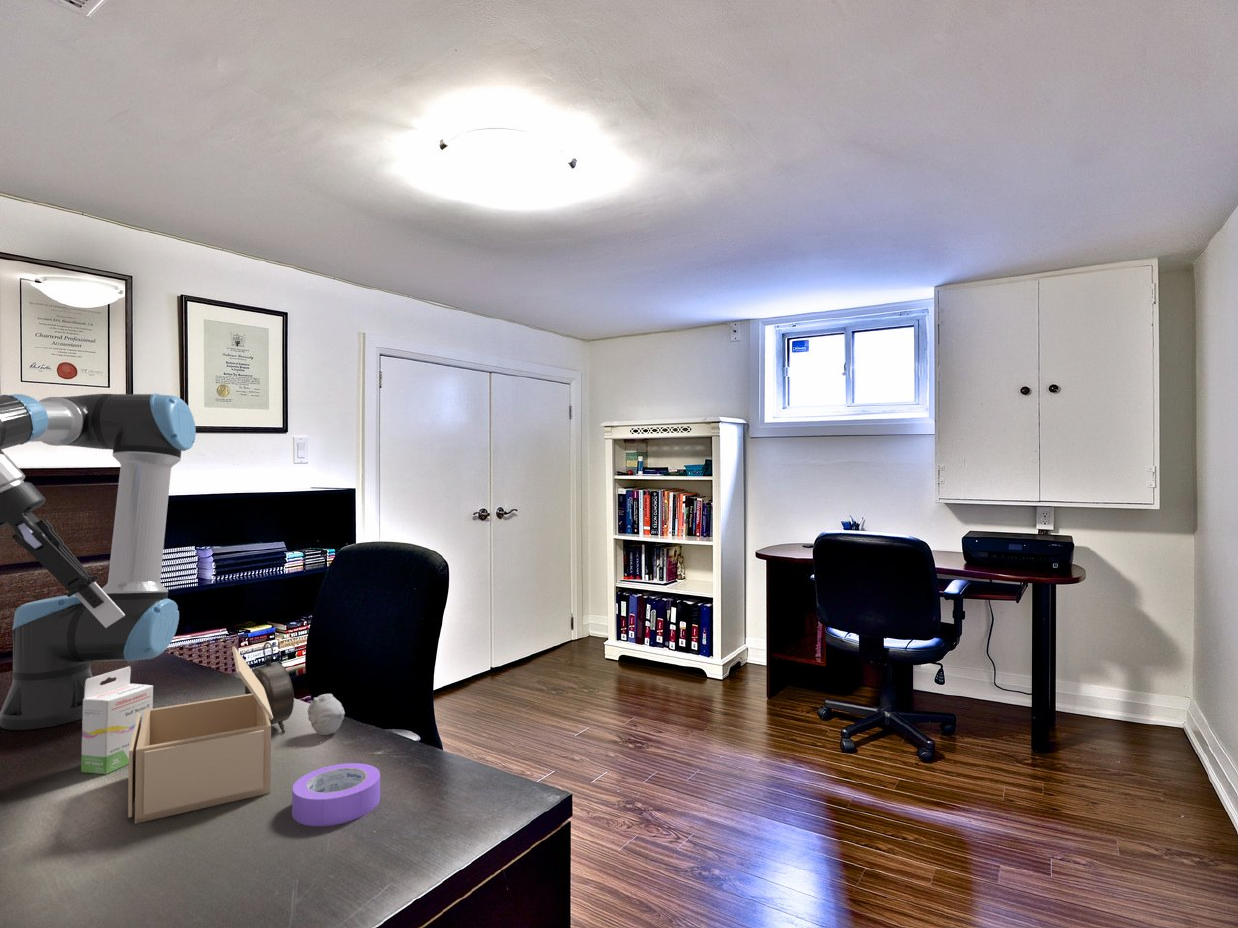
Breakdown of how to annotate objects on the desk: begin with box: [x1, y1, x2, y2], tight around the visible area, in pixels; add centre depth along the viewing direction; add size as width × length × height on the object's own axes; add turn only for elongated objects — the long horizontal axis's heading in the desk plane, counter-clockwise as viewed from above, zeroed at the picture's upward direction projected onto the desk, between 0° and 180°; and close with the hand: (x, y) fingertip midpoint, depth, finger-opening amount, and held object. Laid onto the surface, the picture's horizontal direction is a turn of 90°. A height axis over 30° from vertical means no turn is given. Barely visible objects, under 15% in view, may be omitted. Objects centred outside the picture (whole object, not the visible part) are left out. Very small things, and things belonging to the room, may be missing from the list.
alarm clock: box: [244, 641, 295, 734], centre depth 124 cm, size 11×5×16 cm, turn 52°
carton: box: [127, 694, 272, 824], centre depth 102 cm, size 20×17×10 cm
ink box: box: [80, 666, 154, 775], centre depth 110 cm, size 9×5×15 cm, turn 168°
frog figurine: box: [307, 693, 346, 736], centre depth 122 cm, size 6×7×7 cm
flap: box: [231, 645, 273, 720], centre depth 106 cm, size 17×1×9 cm, turn 32°
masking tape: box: [291, 762, 381, 827], centre depth 96 cm, size 12×12×4 cm
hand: (115, 621), depth 101 cm, fingers closed
